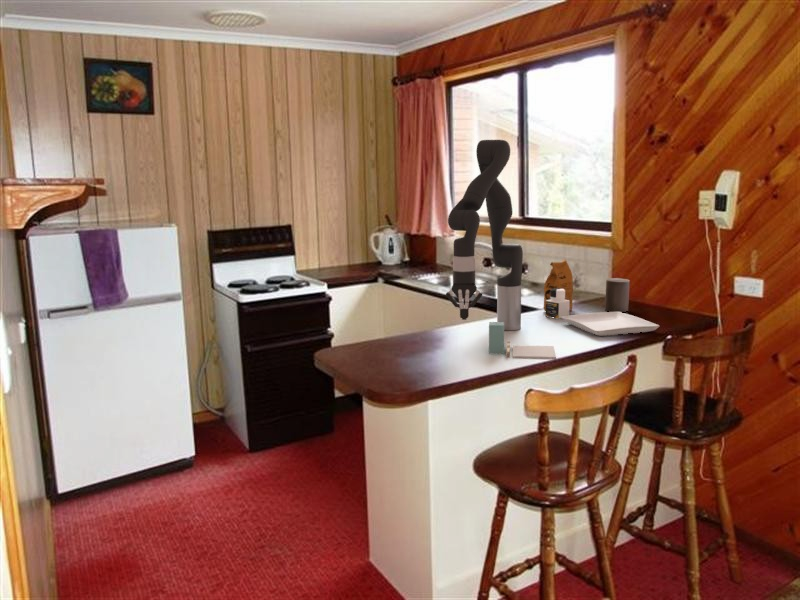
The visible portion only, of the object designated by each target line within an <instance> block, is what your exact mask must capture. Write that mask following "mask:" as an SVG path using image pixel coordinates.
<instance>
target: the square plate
mask: <svg viewBox="0 0 800 600" xmlns="http://www.w3.org/2000/svg"><path fill="white" fill-rule="evenodd" d="M561 319H562V320H563V321H564V322H565V323H567V324H569V325H572V326H573V327H575V326H576V327H575V328H577V327H578V328H577V329H579V328H581V329H580V330H582V329H583V330H582V331H584V330H586V331H585V332H587V331H588V333H589V332H590V333H589V334H592V333H593V334H592V335H594V334H595V335H594V336H598V337H599V336H601V337H608V336H607V335H612V336H619V335H618V334H623V335H629V334H628V333H633V334H641V333H640V332H642V333H648V332H653V331H655V330H657V329H658V328H659V327H660V325H659V324H658V323H657V324H656V323H654V322H651V321H649V320H645V319H644V318H641V317H638V316H636V315H635V316H634V315H632V314H629V313H627V312H626V313H622V312H607V311H602V312H589V313H581V314H580V313H579V314H569V316H561Z"/></svg>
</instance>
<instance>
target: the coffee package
mask: <svg viewBox="0 0 800 600" xmlns="http://www.w3.org/2000/svg"><path fill="white" fill-rule="evenodd" d="M550 266H551V267H552V268H551V270H550V273H549V275H548V276H547V278H546V279H545V282H544V286H543V310H544V312H545V311H546V300H550V299H551V298H550V290H551V289H553V288H562V289H564V290H565V300H569V301H570V303H569V310H570V311H572V310H573V299H574V294H573V293H574V281H573V273H572V270H571V268H570V266H569V264H568V261H567V260H566V259H564V260H562V261H559V262H557V261H554V262H553V261H552V262H551V263H550Z"/></svg>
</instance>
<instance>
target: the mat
mask: <svg viewBox="0 0 800 600" xmlns="http://www.w3.org/2000/svg"><path fill="white" fill-rule="evenodd" d="M512 358H513V359H545V358H552V359H551V360H553V359H555V360H556V359H557V355H556V351H555V347H554V345H519V344H517V345H515V344H514V345H512Z"/></svg>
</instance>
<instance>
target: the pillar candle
mask: <svg viewBox="0 0 800 600" xmlns="http://www.w3.org/2000/svg"><path fill="white" fill-rule="evenodd" d="M630 281H631V280H630V279H628V278H627V279H626V278H620V277H618V276H617V277H615V278H614V277H613V278H607V279H606V281H605V299H604V300H605V301H604V302H605V303H604V304H605V306H604V311H605V310H606V311H605V312H607V311H611V312H626V311H628V312H629V304H630V303H629V301H630V299H629V298H630ZM626 313H627V312H626Z"/></svg>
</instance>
